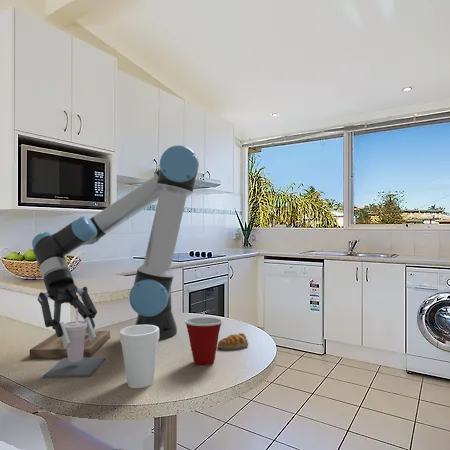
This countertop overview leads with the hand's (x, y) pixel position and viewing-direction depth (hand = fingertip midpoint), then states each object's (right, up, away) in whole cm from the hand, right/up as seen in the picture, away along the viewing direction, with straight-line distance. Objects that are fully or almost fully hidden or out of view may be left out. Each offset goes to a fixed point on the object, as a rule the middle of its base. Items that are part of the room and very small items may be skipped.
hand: (81, 342), depth 96 cm
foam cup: (+18, -8, -7) cm, 21 cm away
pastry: (+41, -8, +18) cm, 46 cm away
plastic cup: (+33, -7, +6) cm, 34 cm away
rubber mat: (-2, -8, +3) cm, 8 cm away
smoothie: (-2, -6, +3) cm, 7 cm away
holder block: (-10, -8, +20) cm, 23 cm away
